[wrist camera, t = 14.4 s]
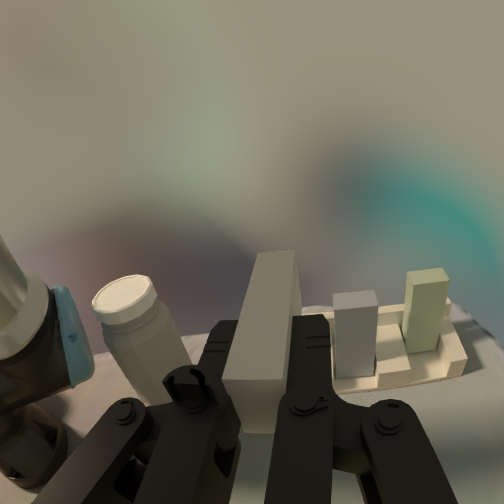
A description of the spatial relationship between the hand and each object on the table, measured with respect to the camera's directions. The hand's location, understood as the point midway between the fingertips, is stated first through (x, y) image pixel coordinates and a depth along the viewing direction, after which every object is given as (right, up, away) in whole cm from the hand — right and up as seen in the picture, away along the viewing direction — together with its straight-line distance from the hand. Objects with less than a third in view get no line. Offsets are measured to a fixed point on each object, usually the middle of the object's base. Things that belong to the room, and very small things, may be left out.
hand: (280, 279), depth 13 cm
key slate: (+13, -15, +26) cm, 33 cm away
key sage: (+23, -12, +27) cm, 37 cm away
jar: (-14, -20, +31) cm, 39 cm away
